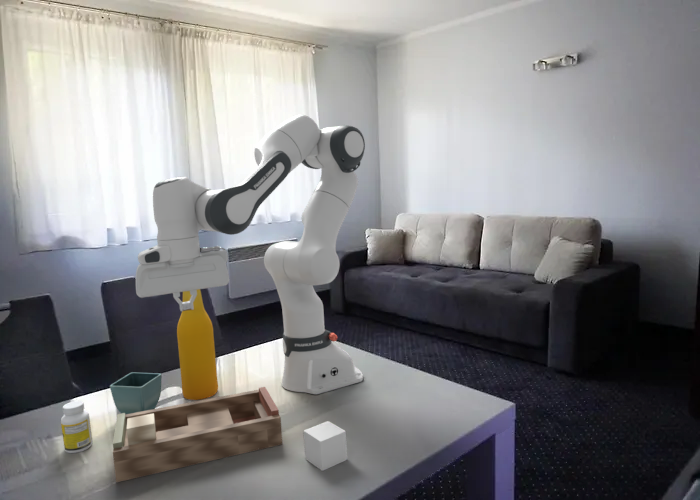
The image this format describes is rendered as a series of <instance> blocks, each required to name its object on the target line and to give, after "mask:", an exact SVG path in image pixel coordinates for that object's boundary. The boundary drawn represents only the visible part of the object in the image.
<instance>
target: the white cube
mask: <svg viewBox="0 0 700 500" xmlns="http://www.w3.org/2000/svg"><path fill="white" fill-rule="evenodd" d="M347 445H348V444H347V431H346V430H345V429H343V428H341V427H339V426H337V425H336V424H335V423H332V422H330V421H329V420H327V421H324V422H322V423H319V424H317V425H314V426H312V427H309V428H306V429H304V430H303V446H304V459H305V460H306V461H308V462H310V463H311V464H312V465H313V466H315V467H317V468H318V469H319V470H320V471H322V472H323V471H325V470H327V469H329V468H331V467H334V466H336V465H338V464H340V463H343V462H345V461H347V460H348V449H347V448H348V447H347Z"/></svg>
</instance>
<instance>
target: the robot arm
mask: <svg viewBox="0 0 700 500" xmlns="http://www.w3.org/2000/svg"><path fill="white" fill-rule="evenodd" d="M365 143H366V142H365V137H364V134H363V133H362V131H361V130H359V128H357V127H355V126H352V125H345V124H342V125H339V126H327V127H324V128H322V129H321V128H319V126H318V124H317V123H316V121H315V120H314V119H313V118H311V117H310V116H307V115H304V114H297V115H295V116H294V115H293V116H292V117H290V118H288V119H286V120H284V121H283V122H281V123H280V124H278V125H277V126H275V127H274V128H273V129H271V130H270V131H269V132H268V133H266V134H265V135H264V136H263V137H262V138H261V139H260V140H259V142H258V143H257V144H256V146H255V147H254V152H253V153H254V160H255V162H256V164H257V167H256V168H255V169H254V170H253V171H252V172H251V173H250V174H249V175H248V176H247V177H245V179H243V181H241V182H240V183H239V184H238V185H235V186H232V187H228V188H223V189H211V188H209V187H205V186H203V185H200V184H198V183H196V182H194V181H192V180H191V179H190V178H189V177H187V176H175V177H171V178H167V179H162V180H161V181H158V182H157V183H156V184H155V185H154V187H153V190H152V208H153V217H154V218H153V219H154V222H155V224H156V227H157V236H156V241H157V244H156V245H154V246H151V247H149V248H147V249H144V250H142V251H140V252H139V253H138V255H137V261H138V263H139V264H138V265H137V267H136V271H135V293H136V296H138V297H139V298H141V299H143V298H149V297H155V296H162V295H163V296H164V295H168V294H172V297H173V299H174V300H175V301H176V302H177V303H178V305H179V310H180V312H182V311H187V310H194V307H193V302H194V300H195V298H196V296H197V290H198V289H200V290H204V289H211V288H217V287H224V286H227V285H228V284H229V283H230V281H231V280H230V275H229V274H230V273H229V268H228V266H227V263H228V262H229V261H228V260H229V254H228V251H227V250H226V249H225V248H224V247H221V246H220V245H216V246H209V247H207V246H206V247H205V246H204V247H201V246H200V245H201V244H200V237H199V231H200V230H201V231H209V232H217V233H222V234H225V235H237V234H240V233H242V232H244V231H245V230H247V229H248V227H249V226H250V225H251V223H252V221H253V219H254V218H255V215H256V213H257V211H258V209H259V208H260V206H261V205H262V203H264V202H265V200H267V198H268V197H269V196H270V195H271V194H272V193H273V192H274V191H275V190H276V189H277V188H278V187H279V186H280V185H281V184H282V182H283V181H284V180H285V179H286V177H287V176H288V175H289V174H290V173H291V172H292V171H294V170H295V169H296V168H297V167H298V166H299V165H301V164H302V165H303V166H305V167H307V168H309V169H312V170H319V169H321V173H320V179H319V182H318V184H317V186H316V187H315V189H314V191H312V194H311V195H310V196H311V197H310V198H309V200H308V202H307V204H306V206H305V208H304V209H303V210H302V211H303V212H302V214H301V217H300V219H301V222H302V225H303V231H302V236H301V238H300V239H299V240H298V241H294V240H293V241H292V240H284V241H283V240H282V241H280V242H276V243H273V244H271V245H270V246H269V247H268V248H267V249H266V251H265V253H264V257H263V265H264V268H265V270H266V271H267V272H268V273H269V275H270V276H271V278H272V280H273V283H274V285H275V288H276V291H277V294H278V297H279V300H280V305H281V309H282V312H281V313H282V322H283V333H282V351H283V354H284V365H283V366H284V367H283V368H284V369H283V372H282V373H283V375H282V379H281V386H282V387H283V388H284V389H285V390H288V391H289V392H290V391H292V392H298V393H308V394H311V395H319V394H324V393H327V392H330V391H333V390H336V389H337V390H338V389H341V388H344V387H347V386H350V385H353V384H357V383H360V382H362V381H363V379H364V374H363V372H362V371H361V370H360V369H359V367H357V366H355V364H354V361H353V358H352V356H351V355H350V354H349V353H348V352H347V351H346V350H344V349H343V348H342V347H340V346H339V345H337V344H336V343H334V342H337V340H338V335H337V334H336V333H335V332H331V331H330V330H327V329H325V314H324V304H323V300H321V298H320V297H319V295H318V294H317V293H316V291H315V288H314V286H321V285H327V284H330V283H332V282H333V281H334V280H335V279H336V277H337V275H338V274H339V270H340V257H339V256H338V253H337V250H336V248H337V247H336V246H337V239H338V236H339V232H340V230H341V228H342V226H343V223H344V221H345V219H346V217H347V214H348V213H349V211H350V209H351V206H352V203H353V202H354V198H355V196H356V192H357V189H358V185H359V177H358V176H357V174H356V173H355V171H356V170H357V169H358V168H359V167H360V166H361V161H362V160H363V157H364V154H365V148H366V144H365ZM184 291H190V294H191V295H192V296H191V298H190V301H187V302H183V300H181V299H180V297H181V293H183V292H184Z"/></svg>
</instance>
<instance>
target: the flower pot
mask: <svg viewBox="0 0 700 500" xmlns="http://www.w3.org/2000/svg"><path fill="white" fill-rule="evenodd" d="M162 376H163V375H162V373H158V372H157V373H155V372H154V373H153V372H133V371H132V372H129V373H128V374H126V375H124V376H123V377H121V378H119V379H118V380H116V381H115V382H113V383H111V384H110V385H109V389H110V393H111V396H112V400H113V404H114V406H115V408H116V409H117V411H118V412H119V414H121V413H125V414H131V413H136V412H141V411H147V410H152V409H156V407H157V405H158V403H159V401H160V397H161V393H162Z"/></svg>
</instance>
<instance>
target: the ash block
mask: <svg viewBox="0 0 700 500" xmlns="http://www.w3.org/2000/svg"><path fill="white" fill-rule="evenodd" d="M127 438H128V446H129V445H134V444H139V443H144V442H148V441H153V440H156V429H155V419H154V413H153V414H148V415H143V416H137V417H132V418H127Z"/></svg>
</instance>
